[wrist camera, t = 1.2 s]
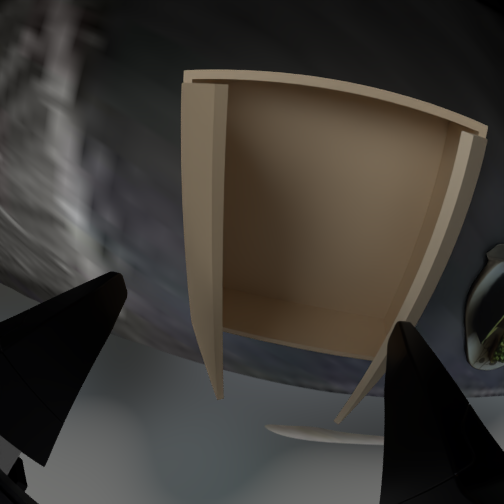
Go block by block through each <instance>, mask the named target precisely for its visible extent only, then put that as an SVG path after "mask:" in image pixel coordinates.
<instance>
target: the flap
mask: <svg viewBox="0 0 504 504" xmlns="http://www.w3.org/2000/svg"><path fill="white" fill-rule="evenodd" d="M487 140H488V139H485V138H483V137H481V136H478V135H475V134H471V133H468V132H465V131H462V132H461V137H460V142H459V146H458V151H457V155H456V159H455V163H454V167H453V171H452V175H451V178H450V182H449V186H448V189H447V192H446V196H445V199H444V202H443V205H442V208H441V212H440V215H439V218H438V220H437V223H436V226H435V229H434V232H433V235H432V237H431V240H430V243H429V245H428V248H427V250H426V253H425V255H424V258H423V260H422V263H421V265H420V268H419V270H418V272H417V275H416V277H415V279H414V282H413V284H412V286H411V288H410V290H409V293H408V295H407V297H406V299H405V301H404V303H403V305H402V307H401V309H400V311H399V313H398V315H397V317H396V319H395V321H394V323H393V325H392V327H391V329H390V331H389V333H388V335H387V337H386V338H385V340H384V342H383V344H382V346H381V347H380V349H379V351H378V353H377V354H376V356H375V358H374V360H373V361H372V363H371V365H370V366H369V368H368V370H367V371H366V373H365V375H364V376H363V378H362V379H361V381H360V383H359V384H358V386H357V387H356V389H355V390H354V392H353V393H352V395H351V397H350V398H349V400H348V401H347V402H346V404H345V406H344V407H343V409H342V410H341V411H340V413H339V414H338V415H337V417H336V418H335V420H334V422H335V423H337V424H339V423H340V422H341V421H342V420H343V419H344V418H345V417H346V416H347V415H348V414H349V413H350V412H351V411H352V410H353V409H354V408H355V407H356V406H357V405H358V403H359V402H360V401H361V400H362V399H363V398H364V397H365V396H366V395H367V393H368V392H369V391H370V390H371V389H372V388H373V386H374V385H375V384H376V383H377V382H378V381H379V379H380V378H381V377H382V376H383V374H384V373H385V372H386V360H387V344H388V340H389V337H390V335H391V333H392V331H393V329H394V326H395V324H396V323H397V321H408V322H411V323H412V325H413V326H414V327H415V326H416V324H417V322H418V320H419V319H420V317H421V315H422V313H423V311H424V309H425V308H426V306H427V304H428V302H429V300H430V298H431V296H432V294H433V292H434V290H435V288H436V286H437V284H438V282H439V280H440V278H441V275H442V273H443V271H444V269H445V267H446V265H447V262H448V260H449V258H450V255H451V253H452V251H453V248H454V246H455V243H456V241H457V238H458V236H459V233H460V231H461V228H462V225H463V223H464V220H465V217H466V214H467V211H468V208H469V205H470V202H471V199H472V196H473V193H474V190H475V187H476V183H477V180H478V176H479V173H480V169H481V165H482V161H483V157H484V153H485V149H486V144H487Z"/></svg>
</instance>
